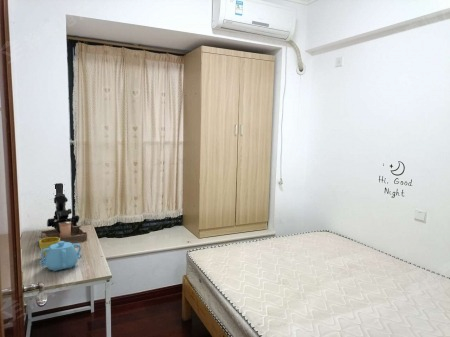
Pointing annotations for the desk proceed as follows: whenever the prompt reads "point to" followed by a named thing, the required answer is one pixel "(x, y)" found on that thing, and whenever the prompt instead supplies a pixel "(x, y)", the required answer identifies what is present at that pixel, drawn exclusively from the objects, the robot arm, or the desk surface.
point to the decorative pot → (60, 256)
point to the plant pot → (48, 243)
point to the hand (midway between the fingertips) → (65, 231)
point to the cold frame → (76, 230)
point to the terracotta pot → (65, 229)
